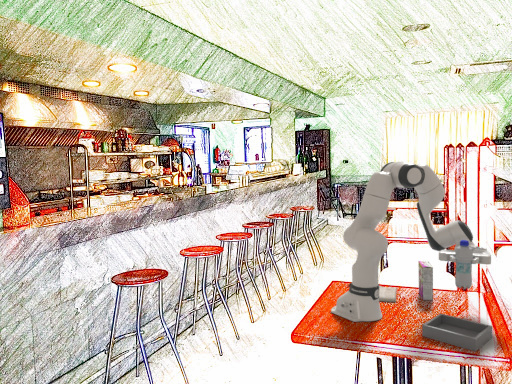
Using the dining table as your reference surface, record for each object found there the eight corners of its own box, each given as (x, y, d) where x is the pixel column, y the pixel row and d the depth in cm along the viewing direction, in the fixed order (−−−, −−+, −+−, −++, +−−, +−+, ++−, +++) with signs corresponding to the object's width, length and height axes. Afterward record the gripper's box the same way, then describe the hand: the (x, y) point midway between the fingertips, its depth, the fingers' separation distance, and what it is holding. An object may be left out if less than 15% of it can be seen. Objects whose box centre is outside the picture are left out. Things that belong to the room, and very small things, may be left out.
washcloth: (396, 291, 232) (396, 285, 232) (396, 303, 215) (396, 297, 215) (372, 290, 235) (372, 284, 235) (370, 302, 218) (370, 295, 218)
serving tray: (422, 336, 177) (422, 324, 177) (440, 323, 188) (440, 313, 188) (475, 351, 163) (476, 339, 162) (492, 337, 174) (492, 326, 173)
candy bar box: (417, 292, 228) (418, 260, 226) (428, 293, 227) (428, 260, 225) (422, 300, 217) (422, 266, 215) (433, 300, 216) (433, 266, 214)
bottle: (474, 290, 185) (475, 241, 183) (456, 289, 187) (457, 241, 185) (470, 285, 192) (471, 238, 190) (452, 284, 193) (453, 238, 191)
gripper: (439, 244, 204) (436, 251, 192) (490, 248, 195) (491, 255, 183) (439, 258, 205) (436, 266, 192) (490, 262, 196) (491, 271, 183)
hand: (463, 261), depth 187 cm, fingers closed on bottle, 6 cm apart
